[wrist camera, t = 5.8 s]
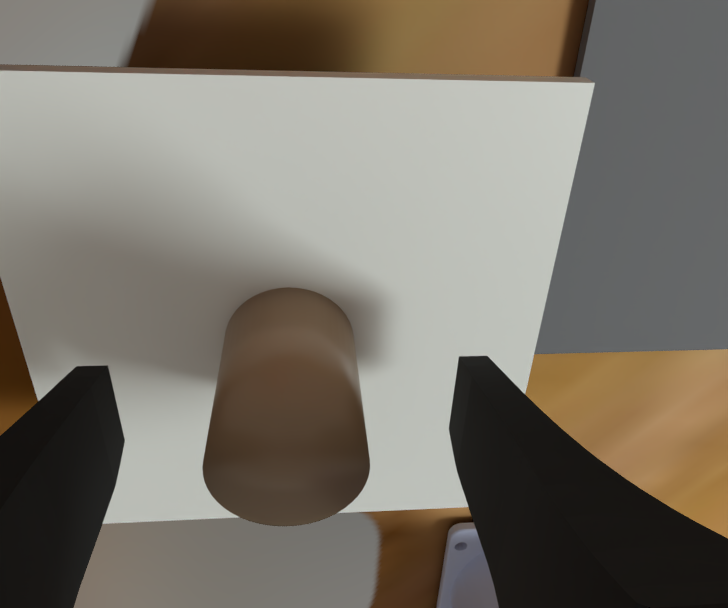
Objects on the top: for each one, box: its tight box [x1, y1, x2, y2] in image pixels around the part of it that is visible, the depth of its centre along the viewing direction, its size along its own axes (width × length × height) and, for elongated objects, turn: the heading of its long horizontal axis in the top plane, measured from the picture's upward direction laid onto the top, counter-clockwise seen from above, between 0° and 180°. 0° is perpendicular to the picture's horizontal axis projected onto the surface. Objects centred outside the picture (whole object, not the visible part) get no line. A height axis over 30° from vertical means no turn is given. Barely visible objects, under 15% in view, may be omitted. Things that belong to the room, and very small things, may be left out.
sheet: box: [0, 65, 595, 526], centre depth 13 cm, size 12×12×4 cm
